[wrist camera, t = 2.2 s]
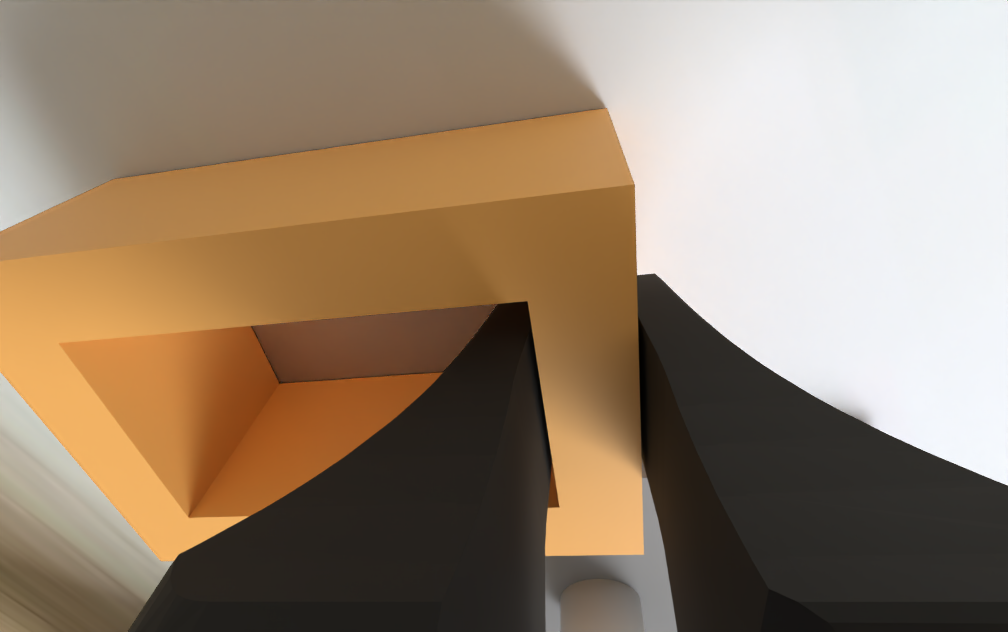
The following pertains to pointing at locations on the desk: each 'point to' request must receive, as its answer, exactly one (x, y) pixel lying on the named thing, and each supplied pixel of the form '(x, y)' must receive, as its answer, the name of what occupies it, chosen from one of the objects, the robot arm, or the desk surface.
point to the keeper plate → (612, 586)
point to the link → (327, 316)
